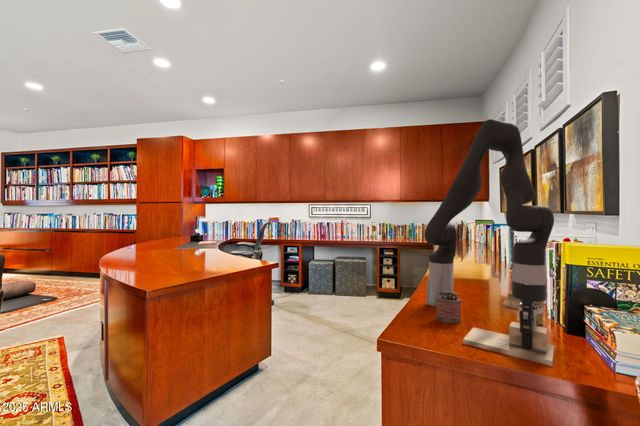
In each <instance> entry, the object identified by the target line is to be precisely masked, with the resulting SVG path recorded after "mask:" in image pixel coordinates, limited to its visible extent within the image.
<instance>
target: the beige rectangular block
mask: <svg viewBox="0 0 640 426" xmlns="http://www.w3.org/2000/svg"><path fill="white" fill-rule="evenodd" d="M508 327H509V329H508V331H509V332H508V335H509V345H512V346H516V347H520V348H523V347H522V333H520V322H519V321H518V322H516V321H511V322H510V324H509V326H508ZM524 328H526V329H529V326H526V325H524ZM547 344H548V328H547V327H544V326H540V325H536V326H533V335H532V349H531V350H533V351H537V352H542V353H546V352H547ZM524 349H526V348H524ZM529 350H530V349H529Z"/></svg>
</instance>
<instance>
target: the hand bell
mask: <svg viewBox="0 0 640 426" xmlns="http://www.w3.org/2000/svg"><path fill="white" fill-rule="evenodd" d="M502 306H504V307H505V308H510V309H513V310H514V309H515V310H519V299H517V298H515V297H513V296H512V290H511V291H510V290H509V291H508V293H507V298H506V300H505V301H504V302H503V303H502Z"/></svg>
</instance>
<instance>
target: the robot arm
mask: <svg viewBox="0 0 640 426" xmlns="http://www.w3.org/2000/svg"><path fill="white" fill-rule="evenodd" d="M488 150H491V151H495V152H501V154H502V155H503V157H504V159H505V164H504V166H503V168H502V171H501V174H500V184H501V186H502V190H503V192H504V196H505V201H506V213H505V223H506V225H507V226H508V227H509V229H510V230H511V231H514V232H517V233H518V232H519V233H520V232H521V233H530V235H529V237H528V238H527V239H523V240H519V241H516V242H514V244H513V253H512V254H513V260H512V263H513V264H512V270H511V291H512V296H513V297H515V298H517V299H521V300H522V303H520V305H519V309H518V315H519V314H520V318H519V317H518V319H519V321H518V323H520V333H522V347H523V348H526V349H530V350H531V349H532V335H533V326H537V325H536V322H537V313H538V306H536V305H537V303H536V302H543V303H544V302H545V301H547V269H546V250H547V246H548V245H547V244H548V242H549V239H550V237H551V233H552V231H553V228H554V225H555V223H554V222H555V217H554V214H553V211H552V210H551V209H550V208H549V207H547V206H545V205H527V204H529V203H531V202H532V201H533V200H534V199H535V197H536V191H535V190H536V189H535V187H534V185H533V182H532V181H531V177H530V175H529V173H528V170H527V166H526V163H525V156H524V154H525V153H524V148H523V143H522V137H521V133H520V129H519V127H518V125H516V124H514V123H513V122H512V123H511V122H508V121H504V120H499V119H495V118H489V119H486V120H484V122H483V123H482V124H481V125H480V126H479V128H478V130H477V132H476V135H475V136H474V139H473V141H472V144H471V145H470V148H469V151H468V152H467V155H466V157H465V160H464V161H463V164H462V165H461V167H460V169H459V171H458V172H457V174H456V177H455V178H454V180H453V181H452V183H451V185H450V187H449V189H448V191H447V193H446V195H445V197H444V198H443V200H442V202H441V203H440V205H439V207H438V209H437V210H436V211H435V213H434V215H433V216H432V218H431V219H430V220H429V221H428V224H427V225H426V227H425V229H424V235H423V236H424V240H425V242H426V243H427V244H428V245H432V246H438V247H437V249H436V250H435V251H434V252H432V253H430V254H429V255H428V279H427V281H426V305H428V306H431V307H433V308H436V297H442V295H438V291H446V292H448V291H451V292H452V293H454V266H455V265H454V259H455V257H456V253H457V252H456V251H457V240H458V234H457V229H456V226H455V225H454V224H453V223H451V221H452V220H453V219H454V218H455V217H457V216H458V215H459V214H461V213H462V212H463V211H465V210H466V209H467V208H468V207H470V205H472V203H473V202H474V201H475V199H476V197H477V195H478V194H479V192H480V191H481V189H482V182H483V179H482V171H481V170H482V162H483V160H484V157H485V155H486V154H487V152H488ZM525 204H526V205H525ZM444 296H445V295H444ZM445 297H446V296H445ZM535 301H536V302H535ZM524 325H526V326H529V329H526V328H524Z"/></svg>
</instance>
